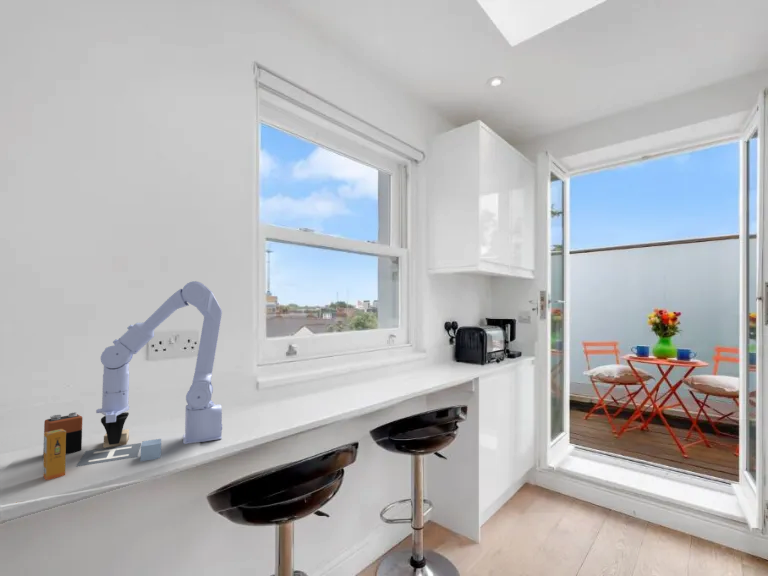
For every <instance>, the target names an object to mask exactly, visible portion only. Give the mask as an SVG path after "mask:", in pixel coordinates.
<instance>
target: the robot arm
mask: <svg viewBox="0 0 768 576" xmlns="http://www.w3.org/2000/svg"><path fill="white" fill-rule="evenodd" d="M189 304H190V305H192V306H193V307H195V308H196V309H197V311H198V312H199V313H200V314H201V315H202V316H203V322H202V328H201V334H200V340H199V345H198V350H197V356H196V357H197V358H196V363H195V368H194V373H193V374H194V375H193V379H192V382H191V385H190V387H189V389H188V391H187V393H186V395H185V401H186V405H185V423H184V424H185V426H184V434H183V437H182V438H183V439H182V440H183V445H186V444H192V443H203V442H210V441H216V440H221V439H222V432H223V431H222V430H223V423H222V421H223V420H222V419H223V415H222V414H223V413H222V411H223V409H222V404H219V403H218V404H215V402H214V401H213V400H212V395H213V392H214V386H213V383H212V378H213V377H212V376H213V369H214V363H215V359H216V358H215V356H216V351H217V345H218V340H219V334H220V329H221V328H220V327H221V321H222V315H223V311H222V308H221V306H220V304H219V302H218V300H217V299H216V297H215V294H214V292H213V291H212V290H210V289H209V288H208V287H207V286H206V285H205V284H204V283H202V282H200V281H197V280H195V281H192V280H191V281H190V282H187V283H186V284H185V285H184V286H183V288H179V289H178V290H176V292H174V293H173V294H172V295H170V296H169V297H168V298H167V300H165V301H164V302H163V303H162V304H161V305H160V306H159V308H157V309H156V310H155V311H154V312H153V313H152V314H151V315H150V316H149V317H148V318H147V319H146V320H145V321H144V322H136V323H134V324H130V325H128V327H127V331H125V332H124V334H122V335H121V336H120V337H119V338H118V339H114V340H113V341H112V343H113V345H111V346H108V347H105V348H104V350H103V351H102V353H101V356H100V362H101V365H102V366H103V374H102V393H101V394H102V396H101V397H102V400H101V401H102V402H101V408H98V409H96V410H95V413H96V414H102V415H103V417H101V418H100V423H101V425H103V428H104V429H105V432H106V433H107V438H108V442H109V445H111V444H118V443H119V442H120V439H121V435H122V430H124V427H125V426H124V425H125V423H126V420H127V418H128V416H129V414H130V413H129V412H127V411H129V410H130V405H129V398H130V397H129V396H130V395H129V394H130V362H131V360H132V359H133V356H134V355H136V354H137V353H138V352H140V350H141V349H143V348H144V347H145V346H146V345H147V344H148V343H149V342H150V341H151V340H152V339H153V338H154V337H155V330H156V329H157V328H158V327H159V326H160V325H162V323H163V322H165V321H166V320H167V319H168V318H169V317H170V316H172V315H173V313H175V312H176V311H177V310H180V309H183V308H185V307H188V306H190V305H189ZM106 433H105V434H106Z"/></svg>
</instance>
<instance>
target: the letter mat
mask: <svg viewBox="0 0 768 576" xmlns="http://www.w3.org/2000/svg"><path fill="white" fill-rule="evenodd" d="M141 444H142V442H139V443H131V444H126V445H119V446H112V447H105V448H97V449H89V450H86V451H85V452H84V454H83V455H82V456H81V458H80V459H79V461H78V462H77V463H76V465H75V468H78V467H84V466H90V465H97V464H103V463H110V462H115V461H121V460H128V459H134V458H138V457H139V453H140V451H141Z"/></svg>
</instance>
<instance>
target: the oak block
mask: <svg viewBox="0 0 768 576" xmlns="http://www.w3.org/2000/svg"><path fill="white" fill-rule="evenodd" d="M129 439H130V429H129V428H126V429H123V430H122V435H121V439H120V442H119V443H118V444H111V445H109V442H108V438H107V433H105V434H104V436H103V446H102V447H103V448H110V447H117V446H124V445H128V442H129ZM103 448H102V449H103Z"/></svg>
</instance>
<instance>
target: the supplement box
mask: <svg viewBox="0 0 768 576" xmlns="http://www.w3.org/2000/svg"><path fill="white" fill-rule="evenodd" d="M43 450H44V455H43V473H42V475H43V478H44V480H45V481H50V480H53V479H57V478H61V477H64V476H66V455H67V454H66V431H65V430H63V429H58V430H54V431H49V432H45V433H44V432H43Z"/></svg>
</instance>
